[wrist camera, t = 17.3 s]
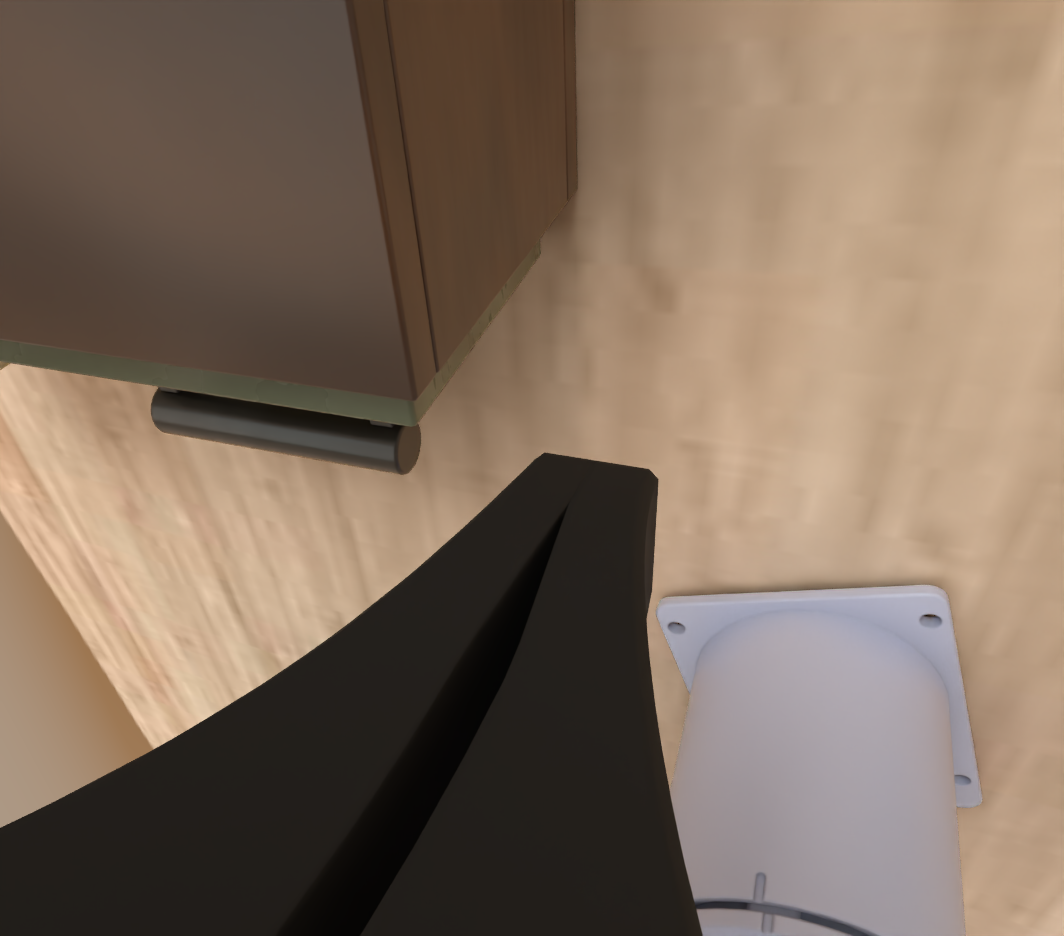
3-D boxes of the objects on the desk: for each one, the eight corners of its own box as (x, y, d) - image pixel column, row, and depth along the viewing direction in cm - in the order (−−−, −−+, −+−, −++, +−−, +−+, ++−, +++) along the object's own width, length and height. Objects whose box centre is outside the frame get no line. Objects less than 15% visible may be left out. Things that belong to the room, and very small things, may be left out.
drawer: (549, 426, 21) (448, 621, 16) (155, 366, 25) (-28, 513, 20) (501, -659, 11) (163, -1054, 6) (-185, -501, 14) (-777, -662, 9)
